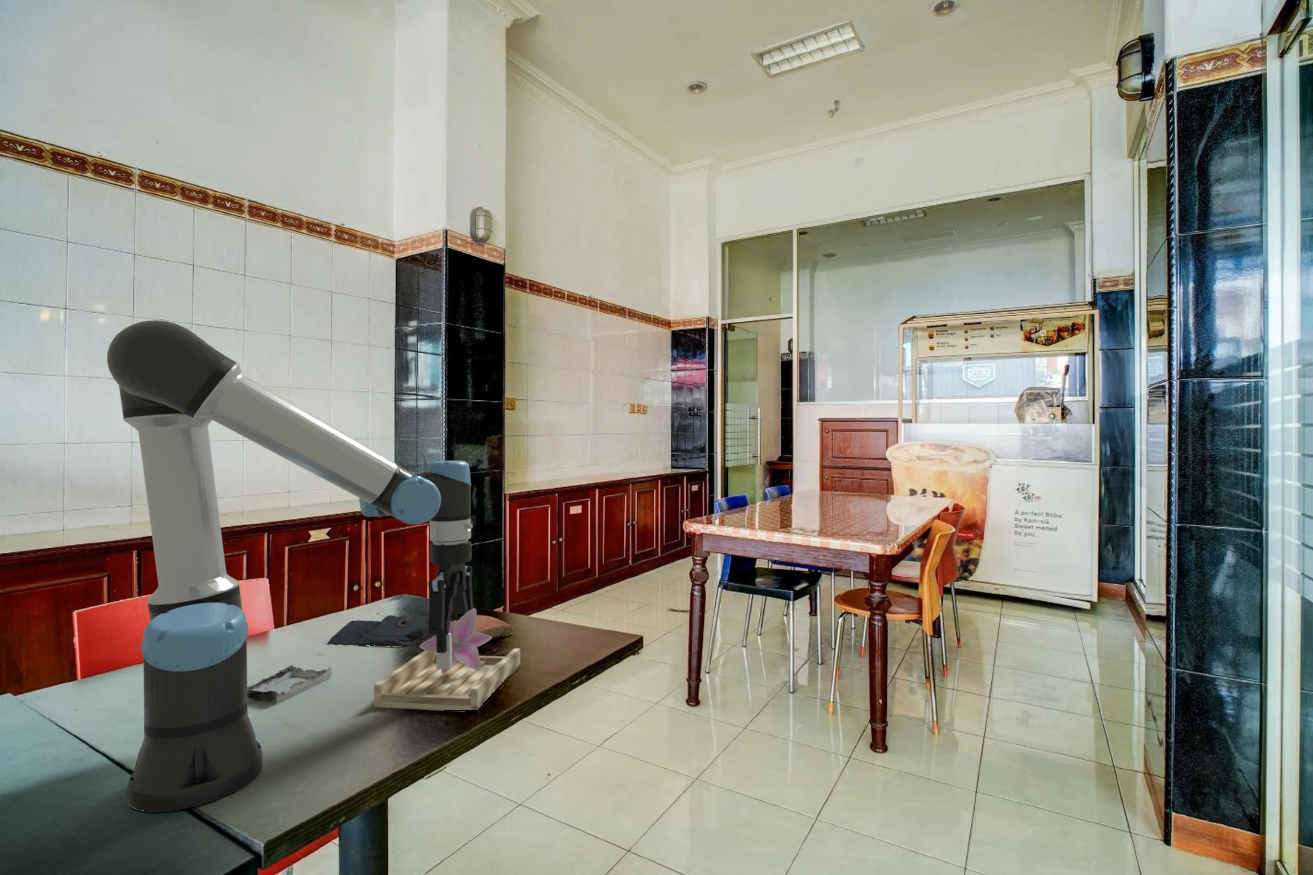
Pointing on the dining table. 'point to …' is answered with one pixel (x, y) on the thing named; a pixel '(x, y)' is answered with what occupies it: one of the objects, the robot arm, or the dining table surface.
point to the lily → (462, 641)
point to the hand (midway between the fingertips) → (452, 661)
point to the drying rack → (443, 683)
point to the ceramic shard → (491, 626)
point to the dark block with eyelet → (382, 632)
